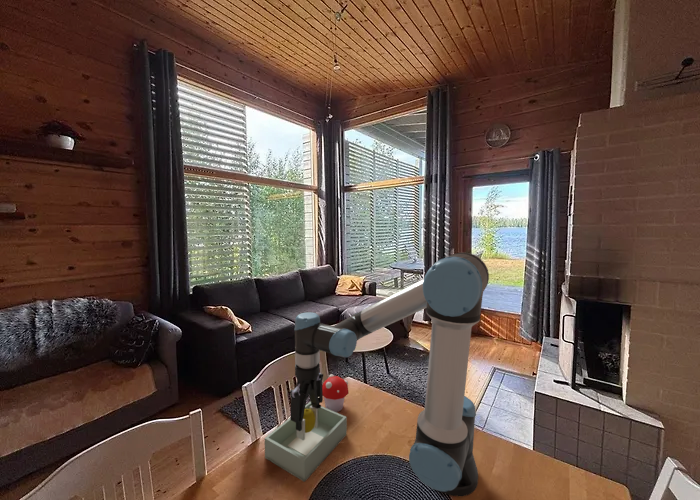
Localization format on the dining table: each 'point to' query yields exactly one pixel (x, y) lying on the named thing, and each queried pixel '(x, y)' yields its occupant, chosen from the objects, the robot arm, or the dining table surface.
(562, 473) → the dining table surface
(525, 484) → the dining table surface
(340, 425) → the crate
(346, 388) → the mushroom
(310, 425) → the lemon
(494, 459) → the dining table surface
